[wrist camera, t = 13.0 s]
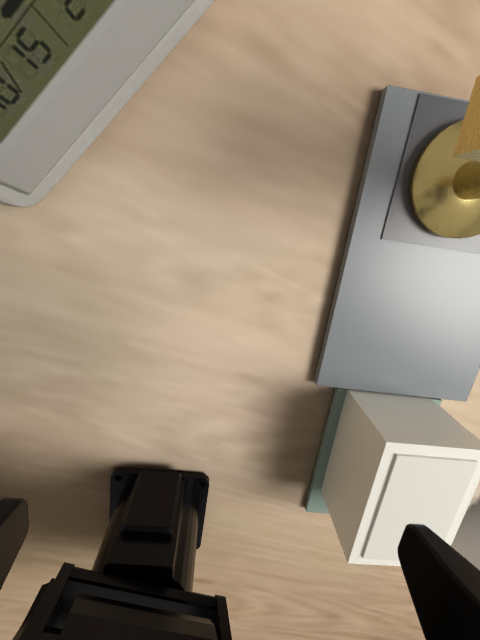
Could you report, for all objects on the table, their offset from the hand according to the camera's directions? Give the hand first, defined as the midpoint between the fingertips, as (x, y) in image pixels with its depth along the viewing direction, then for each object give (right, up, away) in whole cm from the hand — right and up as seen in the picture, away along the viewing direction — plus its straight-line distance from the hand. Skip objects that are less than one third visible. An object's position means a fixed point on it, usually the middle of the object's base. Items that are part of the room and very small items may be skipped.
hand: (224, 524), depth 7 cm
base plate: (+11, +8, +11) cm, 17 cm away
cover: (+9, -4, +14) cm, 17 cm away
